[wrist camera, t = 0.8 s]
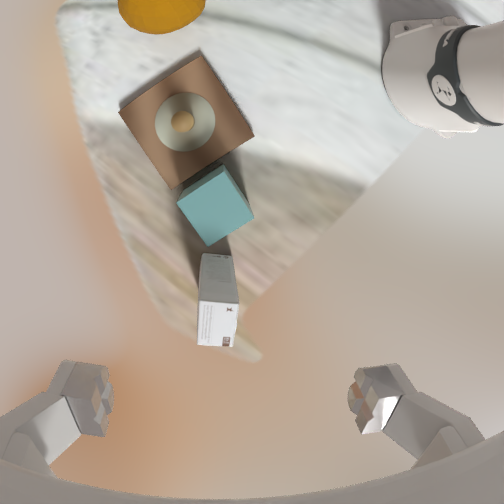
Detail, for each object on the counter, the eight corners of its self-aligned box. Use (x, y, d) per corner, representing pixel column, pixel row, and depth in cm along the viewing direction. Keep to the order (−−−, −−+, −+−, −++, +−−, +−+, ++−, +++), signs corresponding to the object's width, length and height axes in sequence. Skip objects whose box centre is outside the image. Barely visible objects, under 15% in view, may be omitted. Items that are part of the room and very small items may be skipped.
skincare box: (201, 252, 43) (195, 297, 32) (234, 255, 44) (240, 301, 32) (198, 292, 45) (193, 345, 34) (229, 295, 46) (233, 348, 35)
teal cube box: (223, 163, 39) (224, 171, 33) (248, 203, 41) (254, 218, 35) (183, 190, 40) (176, 202, 33) (209, 227, 42) (207, 246, 36)
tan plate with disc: (202, 57, 33) (199, 49, 30) (253, 135, 38) (257, 137, 34) (120, 112, 35) (110, 111, 31) (172, 188, 39) (167, 195, 35)
